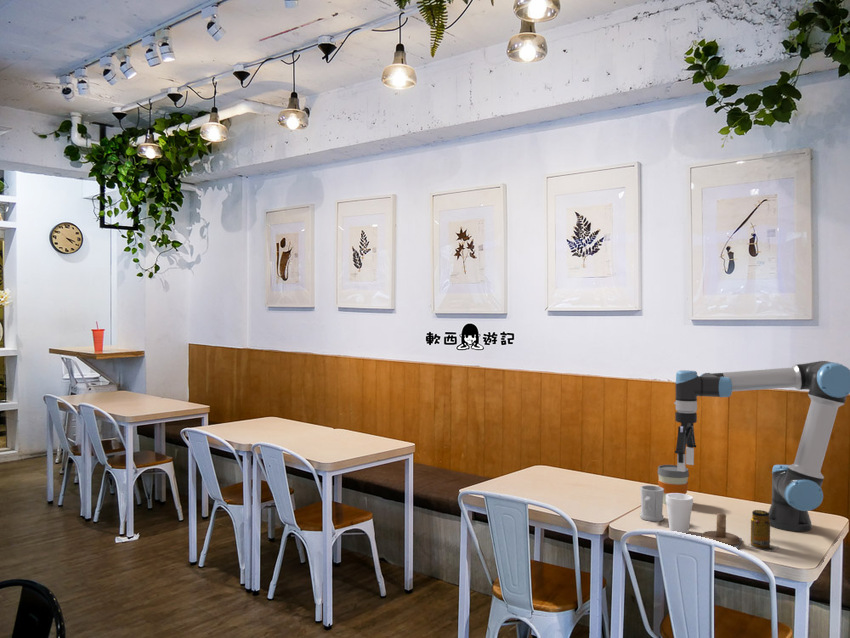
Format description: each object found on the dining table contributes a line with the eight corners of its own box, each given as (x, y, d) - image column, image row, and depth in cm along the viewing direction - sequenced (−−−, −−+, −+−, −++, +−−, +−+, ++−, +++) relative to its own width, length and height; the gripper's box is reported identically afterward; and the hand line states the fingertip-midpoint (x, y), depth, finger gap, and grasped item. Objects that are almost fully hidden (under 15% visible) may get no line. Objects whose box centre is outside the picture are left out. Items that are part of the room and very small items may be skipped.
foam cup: (694, 536, 244) (695, 500, 244) (667, 534, 246) (668, 499, 245) (689, 528, 253) (690, 493, 253) (663, 526, 255) (664, 492, 255)
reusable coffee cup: (682, 499, 293) (683, 464, 293) (692, 507, 280) (693, 471, 280) (653, 498, 293) (653, 464, 293) (662, 507, 281) (662, 471, 281)
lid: (741, 538, 240) (742, 513, 240) (737, 548, 230) (737, 521, 230) (705, 532, 246) (706, 507, 246) (699, 541, 236) (700, 515, 236)
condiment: (753, 541, 239) (753, 507, 239) (779, 547, 233) (779, 512, 233) (746, 546, 234) (746, 512, 234) (772, 552, 228) (773, 517, 228)
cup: (668, 523, 259) (668, 492, 259) (644, 523, 259) (645, 492, 259) (658, 515, 269) (659, 485, 269) (636, 514, 269) (636, 485, 269)
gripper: (683, 407, 266) (683, 460, 266) (667, 414, 245) (666, 472, 246) (703, 408, 262) (703, 463, 262) (688, 416, 241) (688, 475, 241)
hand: (685, 467), depth 254 cm, fingers open, 13 cm apart
